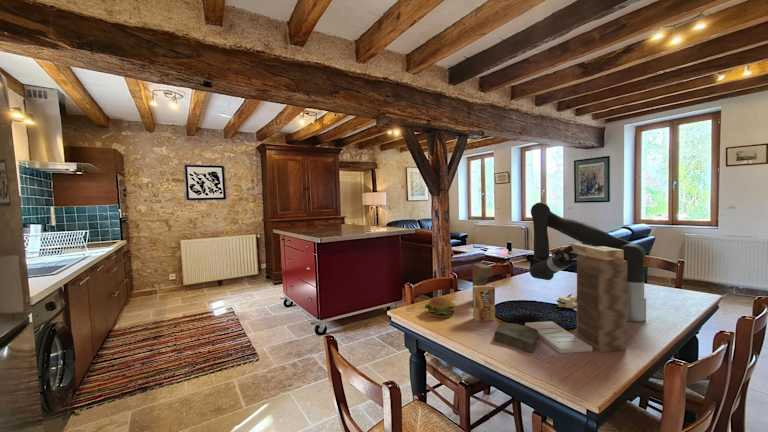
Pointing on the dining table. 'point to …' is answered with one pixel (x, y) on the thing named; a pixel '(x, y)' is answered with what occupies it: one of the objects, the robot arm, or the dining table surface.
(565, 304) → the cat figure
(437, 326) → the dining table surface
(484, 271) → the decorative block
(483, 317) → the candy box
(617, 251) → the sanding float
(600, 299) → the zigzag patterned tall block
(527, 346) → the marble piece
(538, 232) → the robot arm
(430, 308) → the food
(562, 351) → the grey board
